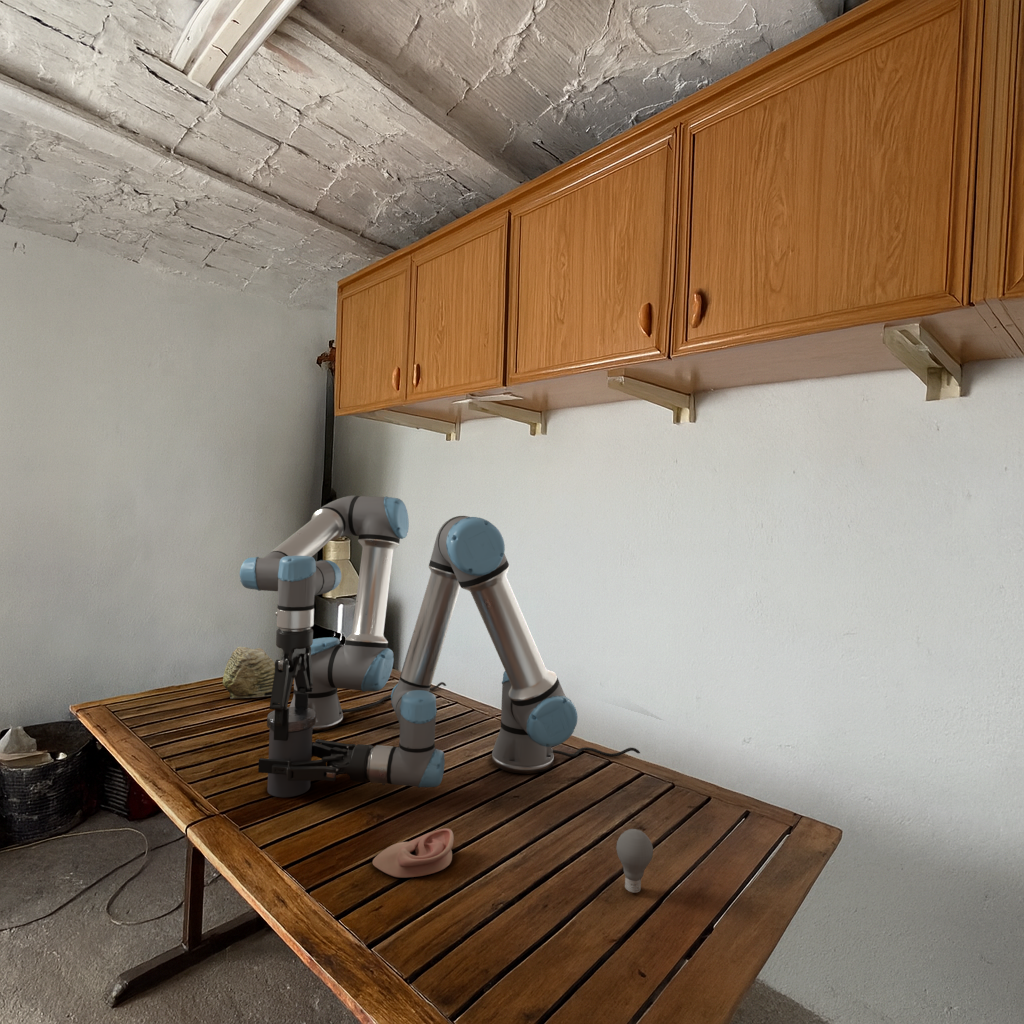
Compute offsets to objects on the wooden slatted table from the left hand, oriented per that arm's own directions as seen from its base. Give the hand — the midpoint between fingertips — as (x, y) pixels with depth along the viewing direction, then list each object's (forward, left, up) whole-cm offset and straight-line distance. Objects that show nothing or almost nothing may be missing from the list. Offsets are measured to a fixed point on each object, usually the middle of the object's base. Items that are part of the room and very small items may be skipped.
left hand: (291, 730), depth 137 cm
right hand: (+3, -4, -6) cm, 8 cm away
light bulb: (-18, +73, -13) cm, 76 cm away
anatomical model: (+1, +40, -13) cm, 42 cm away
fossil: (-27, -63, -13) cm, 70 cm away
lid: (0, 0, +3) cm, 3 cm away
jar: (0, 0, -13) cm, 13 cm away
